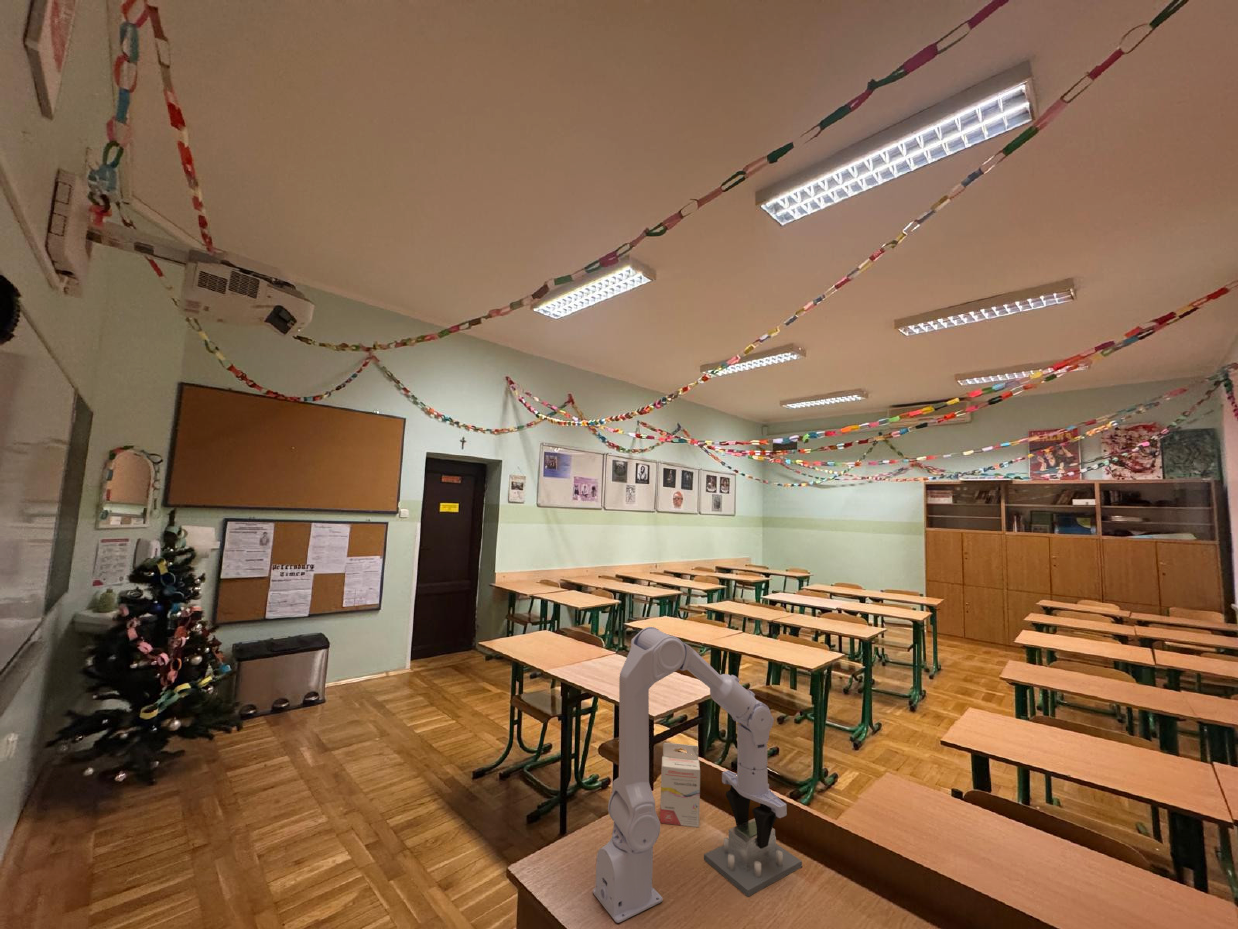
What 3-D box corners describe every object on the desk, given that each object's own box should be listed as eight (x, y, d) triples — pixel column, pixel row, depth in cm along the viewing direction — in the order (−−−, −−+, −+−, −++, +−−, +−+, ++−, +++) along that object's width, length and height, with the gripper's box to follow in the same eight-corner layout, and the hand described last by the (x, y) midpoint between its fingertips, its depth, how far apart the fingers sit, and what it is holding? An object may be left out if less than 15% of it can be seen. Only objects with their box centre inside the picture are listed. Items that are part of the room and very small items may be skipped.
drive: (746, 872, 88) (746, 842, 88) (728, 858, 91) (728, 829, 92) (776, 857, 92) (776, 828, 93) (758, 844, 96) (758, 816, 97)
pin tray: (747, 897, 83) (747, 878, 83) (703, 859, 92) (704, 842, 93) (802, 867, 91) (801, 849, 91) (756, 835, 100) (756, 819, 101)
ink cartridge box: (659, 824, 103) (661, 751, 105) (660, 811, 108) (661, 741, 110) (699, 828, 102) (700, 754, 104) (698, 815, 107) (699, 744, 109)
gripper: (796, 774, 90) (798, 853, 88) (738, 744, 102) (738, 813, 100) (771, 784, 86) (772, 867, 85) (714, 751, 98) (714, 823, 97)
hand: (752, 839), depth 92 cm, fingers closed on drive, 4 cm apart
